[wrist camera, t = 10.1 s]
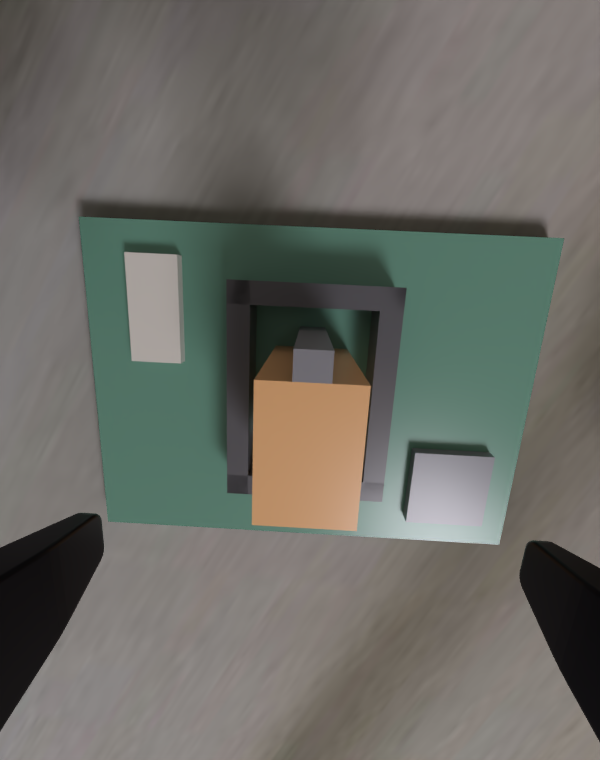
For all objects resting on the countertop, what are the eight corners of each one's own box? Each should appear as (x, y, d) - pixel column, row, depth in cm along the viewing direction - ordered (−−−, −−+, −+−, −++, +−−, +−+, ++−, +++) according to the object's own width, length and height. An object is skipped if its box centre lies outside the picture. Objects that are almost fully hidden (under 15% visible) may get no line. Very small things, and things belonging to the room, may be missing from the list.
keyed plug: (273, 439, 19) (251, 524, 12) (276, 325, 17) (254, 346, 10) (339, 443, 19) (356, 531, 12) (348, 328, 17) (374, 352, 10)
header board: (117, 510, 21) (86, 545, 18) (91, 221, 17) (47, 206, 14) (490, 532, 21) (519, 572, 18) (549, 241, 17) (599, 230, 14)
